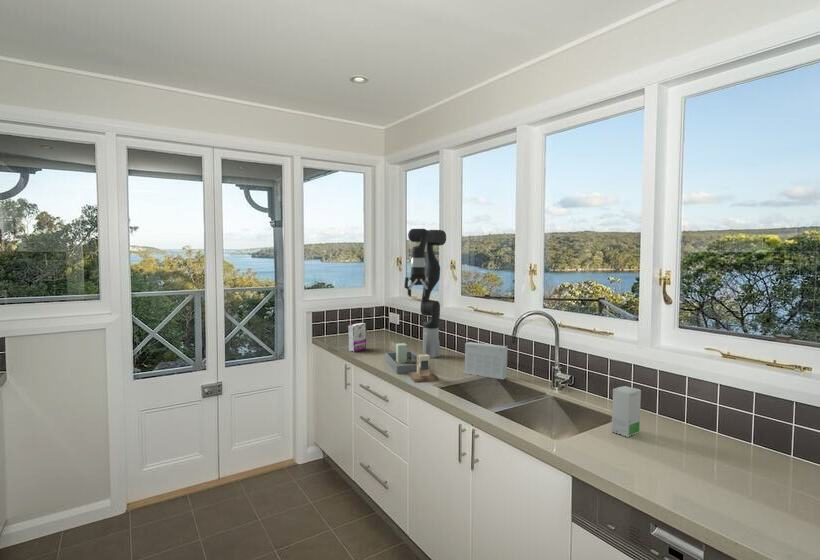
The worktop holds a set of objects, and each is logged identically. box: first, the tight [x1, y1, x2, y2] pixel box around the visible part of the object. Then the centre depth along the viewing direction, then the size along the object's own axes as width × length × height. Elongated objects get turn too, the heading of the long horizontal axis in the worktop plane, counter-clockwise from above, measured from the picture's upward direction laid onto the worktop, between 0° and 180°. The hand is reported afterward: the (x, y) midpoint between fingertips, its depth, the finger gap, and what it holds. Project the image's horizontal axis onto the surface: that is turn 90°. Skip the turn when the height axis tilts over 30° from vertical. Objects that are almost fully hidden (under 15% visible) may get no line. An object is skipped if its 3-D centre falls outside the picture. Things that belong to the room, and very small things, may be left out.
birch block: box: [416, 353, 431, 376], centre depth 226 cm, size 5×5×10 cm
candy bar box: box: [347, 322, 367, 353], centre depth 284 cm, size 11×5×16 cm, turn 143°
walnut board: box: [407, 370, 439, 383], centre depth 226 cm, size 12×12×2 cm
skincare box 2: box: [610, 385, 642, 438], centre depth 161 cm, size 8×7×16 cm
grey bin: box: [384, 350, 417, 374], centre depth 249 cm, size 16×30×4 cm, turn 15°
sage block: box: [395, 342, 408, 364], centre depth 257 cm, size 5×5×10 cm
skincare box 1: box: [464, 341, 508, 380], centre depth 231 cm, size 21×5×16 cm, turn 59°
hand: (417, 296), depth 245 cm, fingers open, 8 cm apart
